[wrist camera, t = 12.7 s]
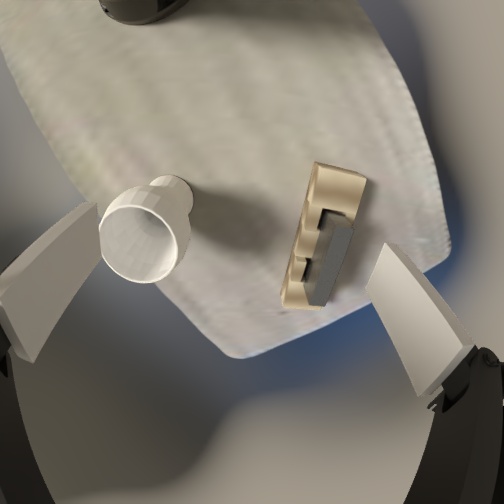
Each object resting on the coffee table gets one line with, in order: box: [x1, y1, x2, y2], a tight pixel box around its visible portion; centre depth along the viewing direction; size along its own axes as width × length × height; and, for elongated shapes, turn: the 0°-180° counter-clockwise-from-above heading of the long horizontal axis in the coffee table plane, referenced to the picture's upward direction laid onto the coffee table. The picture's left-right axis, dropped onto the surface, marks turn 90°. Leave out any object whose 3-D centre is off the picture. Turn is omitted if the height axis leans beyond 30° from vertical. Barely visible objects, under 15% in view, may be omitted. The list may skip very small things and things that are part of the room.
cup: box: [99, 175, 194, 283], centre depth 33 cm, size 11×11×15 cm
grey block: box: [303, 210, 354, 307], centre depth 39 cm, size 13×3×8 cm, turn 171°
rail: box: [280, 162, 367, 310], centre depth 42 cm, size 24×7×4 cm, turn 171°
